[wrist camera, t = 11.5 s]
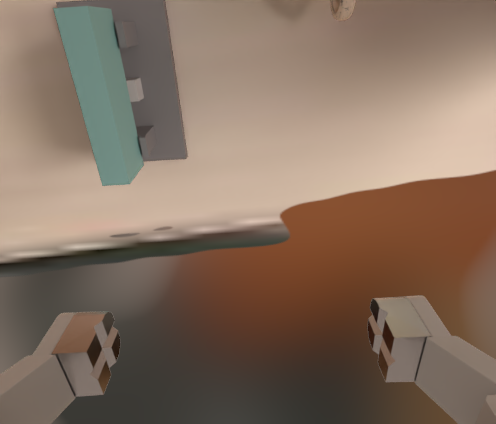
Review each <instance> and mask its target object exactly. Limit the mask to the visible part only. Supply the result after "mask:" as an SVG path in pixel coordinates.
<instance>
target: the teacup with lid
mask: <svg viewBox="0 0 496 424" xmlns="http://www.w3.org/2000/svg"><path fill="white" fill-rule="evenodd" d="M330 3H331V11H332V14H333V17H334V18H335V19H336V20H338V21H344V20H347V19H349V18H350V17H351V15H352V13H353V10H354V7H355V3H356V0H330Z"/></svg>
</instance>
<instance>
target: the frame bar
mask: <svg viewBox="0 0 496 424" xmlns="http://www.w3.org/2000/svg"><path fill="white" fill-rule="evenodd" d="M53 9H54V13H55V17H56V20H57V24H58V27H59V31H60V35H61V38H62V42H63V45H64V49H65V53H66V56H67V60H68V63H69V67H70V71H71V74H72V78H73V81H74V85H75V89H76V92H77V96H78V99H79V103H80V107H81V110H82V114H83V117H84V121H85V124H86V128H87V132H88V135H89V139H90V142H91V146H92V150H93V153H94V157H95V160H96V164H97V168H98V171H99V175H100V178H101V182H102V186H107V185H125V184H130V183H131V182H132V180H133V179H134V178H135V176H136V175H137V173H138V172H139V171H140V169H141V168H142V167H143V165H144V163H143V159H142V154H141V149H140V144H139V140H138V135H137V130H136V125H135V121H134V116H133V111H132V106H131V102H130V97H129V92H128V87H127V83H126V78H125V73H124V68H123V64H122V59H121V54H120V49H119V45H118V40H117V35H116V30H115V26H114V21H113V16H112V11H111V9H109V8H100V7H92V6H80V7H65V8H53Z"/></svg>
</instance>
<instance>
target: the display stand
mask: <svg viewBox="0 0 496 424" xmlns="http://www.w3.org/2000/svg"><path fill="white" fill-rule="evenodd" d="M80 6H92V7H100V8H109V9H111V11H112V16H113V21H114V26H115V30H116V35H117V40H118V45H119V49H120V54H121V59H122V64H123V68H124V73H125V78H126V83H127V87H128V92H129V97H130V102H131V106H132V111H133V116H134V121H135V125H136V130H137V135H138V140H139V144H140V149H141V154H142V159H143V161H157V160H174V159H186V158H187V149H186V142H185V135H184V128H183V121H182V114H181V107H180V100H179V94H178V87H177V80H176V73H175V66H174V59H173V52H172V45H171V39H170V32H169V25H168V18H167V11H166V4H165V0H87V1H72V2H57V7H58V8H65V7H80Z"/></svg>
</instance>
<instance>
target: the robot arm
mask: <svg viewBox="0 0 496 424" xmlns="http://www.w3.org/2000/svg"><path fill="white" fill-rule="evenodd" d="M370 310H371V312H372V314H373V315H372V316H371V317H370V318H369V319H368V337H369V341H370V344H371V347H372V349H373V350H374V351H375V352H376V353H377V354H379V357H378V365H379V367H380V370H381V372H382V375H383V377H384V379H385V382H415V384H416V385H418V386H419V387H420V388H421V389H422V390H423V391H424V392H425V393H426V394H427V395H428V396H429V397H430V398H431V399H433V400H434V401H435V402H436V403H437V404H438V405H439V406H440V407H441V408H442V409H443V410H444V411H445V412H446V413H448V414H449V415H450V416H451V417H452V418H453V419H454V420H455V421H456V422H457V423H458V424H496V360H495V359H493V358H492V357H490V356H488V355H487V354H485V353H483V352H482V351H480V350H479V349H477V348H475V347H474V346H472V345H470V344H469V343H467V342H466V341H464V340H462V339H461V338H459V337H457V336H451V335H450V333H449V332H448V330H447V329H446V328H445V326H444V325H443V323H442V322H441V320H440V319H439V317H438V316H437V314H436V313H435V311H434V310H433V308H432V307H431V305H430V304H429V302H428V301H427V299H426V298H425V297H424V296H406V297H393V298H374V299H372V301H371V305H370ZM114 321H115V320H114V317H113V315H112V313H111V312H78V313H62V314H60V315H59V316H57V318H56V319H55V321H54V323H53V324H52V326H51V327H50V329H49V330H48V332H47V333H46V335H45V336H44V338H43V339H42V341H41V343H40V344H39V345H38V347H37V349H36V350H35V352H34V353H33V355H32V356H26V357H25V358H23V359H22V360H20V361H19V362H17V363H16V364H15V365H13V366H12V367H10V368H9V369H7V370H6V371H4V372H3V373H2V374H0V424H51V423H52V422H53V421H54V420H55V419H56V418H57V416H59V415H60V414H61V412H62V411H63V410H64V409H65V408H66V407H67V406H68V405H69V404H70V403H71V402H72V401H73V400H74V399H75V397H76V396H90V395H103V394H104V392H105V390H106V387H107V384H108V382H109V379H110V376H111V372H110V369H109V368H110V367H111V366H112V365H113V364H114V363H115V362H116V361H117V358H118V355H119V351H120V336H119V332H118V331H117V330H116V329H115V328H114V327H112V326H113V323H114Z"/></svg>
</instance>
